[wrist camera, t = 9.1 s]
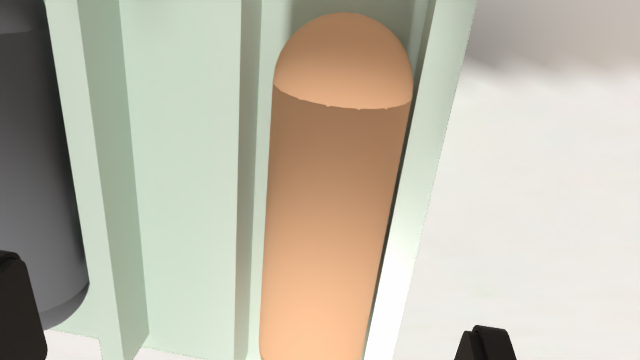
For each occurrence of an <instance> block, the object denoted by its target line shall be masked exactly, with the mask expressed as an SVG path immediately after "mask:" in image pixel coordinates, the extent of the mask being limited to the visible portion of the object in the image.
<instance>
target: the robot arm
mask: <svg viewBox="0 0 640 360" xmlns="http://www.w3.org/2000/svg"><path fill="white" fill-rule="evenodd" d="M47 351H48V349H47V344H46V340H45V336H44V332H43V328H42V324H41V320H40V317H39V313H38V309H37V305H36V301H35V297H34V293H33V289H32V285H31V281H30V277H29V274H28V270H27V266H26V264H25V262H24V261H22V260H21V258H20V256H19V255H18V254H17V253H15V252H10V251H4V250H0V360H45V359H46V356H47ZM454 360H517V359H516V356H515V353H514V350H513V347H512V344H511V341H510V338H509V335H508V333H507V331H506V330H505V329H499V328H493V327H487V326H480V325H475V326H474V328H473V330H472V332H471V331H464V333H463V335H462V338H461V341H460V344H459V347H458V350H457V353H456V356H455V359H454Z"/></svg>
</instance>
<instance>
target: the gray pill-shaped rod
mask: <svg viewBox="0 0 640 360" xmlns="http://www.w3.org/2000/svg"><path fill="white" fill-rule="evenodd" d="M0 250H4V251H10V252H15V253H17V254H18V255H19V256H20V258H21V260H22V261H24V262H25V264H26V266H27V270H28V274H29V277H30V281H31V285H32V289H33V293H34V297H35V301H36V305H37V309H38V313H39V317H40V320H41V324H42V328H43V331H44V330H47V329H50V328H52V327H55V326H57V325H59V324H61V323H62V322H64V321H65V320H67V319H68V318H69V317H70V316H71V315H72V314H73V313H74V312H75V311H76V310H77V309H78V308H79V307H80V306H81V304H82V302H83V301H84V299H85V297H86V295H87V293H88V289H89V285H90V281H89V275H88V268H87V262H86V256H85V250H84V243H83V237H82V231H81V225H80V218H79V212H78V206H77V200H76V193H75V187H74V181H73V175H72V168H71V162H70V156H69V150H68V143H67V137H66V131H65V125H64V118H63V112H62V106H61V100H60V93H59V87H58V81H57V75H56V68H55V62H54V56H53V50H52V43H51V37H50V31H49V25H48V18H47V12H46V6H45V4H44V2H43V0H0Z"/></svg>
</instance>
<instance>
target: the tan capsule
mask: <svg viewBox="0 0 640 360" xmlns="http://www.w3.org/2000/svg"><path fill="white" fill-rule="evenodd" d="M413 84H414V83H413V74H412V67H411V64H410V61H409V58H408V55H407V52H406V51H405V49H404V47H403V45H402V44H401V42H400V41H399V39H398V38H397V37H396V36H395V35H394V34H393V33H392V32H391V30H389V29H388V28H387V27H385V26H384V25H383V24H381V23H380V22H378V21H376V20H374V19H372V18H369V17H367V16H365V15H361V14H356V13H347V12H338V13H333V14H327V15H323V16H321V17H318V18H316V19H313V20H311V21H309V22H308V23H307V24H305V25H304V26H302V27H301V28H299V29H298V30H297V31H296V32H295V33H294V34H293V35H292V36H291V37H290V38H289V40H288V41H287V42H286V44H285V45H284V47H283V49H282V50H281V52H280V54H279V57H278V60H277V62H276V65H275V71H274V78H273V86H272V104H271V123H270V141H269V159H268V178H267V196H266V215H265V233H264V251H263V270H262V288H261V306H260V325H259V352H260V357H261V360H360V358H361V355H362V350H363V345H364V340H365V335H366V330H367V325H368V320H369V314H370V309H371V304H372V299H373V294H374V289H375V284H376V279H377V274H378V269H379V264H380V258H381V253H382V248H383V243H384V238H385V233H386V228H387V223H388V218H389V213H390V208H391V202H392V197H393V192H394V187H395V182H396V177H397V172H398V167H399V162H400V157H401V152H402V146H403V141H404V136H405V131H406V126H407V121H408V116H409V111H410V106H411V101H412V95H413Z"/></svg>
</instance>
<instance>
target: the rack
mask: <svg viewBox="0 0 640 360" xmlns="http://www.w3.org/2000/svg"><path fill="white" fill-rule="evenodd" d="M43 2H44V4H45V6H46V12H47V18H48V25H49V31H50V37H51V43H52V50H53V56H54V62H55V68H56V75H57V81H58V87H59V93H60V100H61V106H62V112H63V118H64V125H65V131H66V137H67V143H68V150H69V156H70V162H71V168H72V175H73V181H74V187H75V193H76V200H77V206H78V212H79V218H80V225H81V231H82V237H83V243H84V250H85V256H86V262H87V268H88V275H89V281H90V285H89V289H88V293H87V295H86V297H85V299H84V301H83V302H82V304H81V306H80V307H79V308H78V309H77V310H76V311H75V312H74V313H73V314H72V315H71V316H70V317H69V318H68V319H67V320H65V321H64V322H62V323H61V324H59V325H57V326H55V327H52V328H50V330H55V331H60V332H65V333H71V334H76V335H81V336H86V337H91V338H96V339H99V343H100V350H101V356H102V360H133V358H134V357H135V355H136V354H137V352H138V351H139V349H140V348H141V347H143V348H148V349H153V350H158V351H163V352H168V353H173V354H179V355H184V356H189V357H194V358H199V359H204V360H261V357H260V352H259V325H260V306H261V288H262V270H263V251H264V233H265V215H266V196H267V178H268V159H269V141H270V123H271V104H272V86H273V78H274V71H275V65H276V62H277V60H278V57H279V54H280V52H281V50H282V49H283V47H284V45H285V44H286V42H287V41H288V40H289V38H290V37H291V36H292V35H293V34H294V33H295V32H296V31H297V30H298V29H299V28H301V27H302V26H304V25H305V24H307V23H308V22H309V21H311V20H313V19H316V18H318V17H321V16H323V15H327V14H333V13H338V12H347V13H356V14H361V15H365V16H367V17H369V18H372V19H374V20H376V21H378V22H380V23H381V24H383V25H384V26H385V27H387V28H388V29H389V30H391V32H392V33H393V34H394V35H395V36H396V37H397V38H398V39H399V41H400V42H401V44H402V45H403V47H404V49H405V51H406V52H407V55H408V58H409V61H410V64H411V67H412V74H413V83H414V84H413V95H412V101H411V106H410V111H409V116H408V121H407V126H406V131H405V136H404V141H403V146H402V152H401V157H400V162H399V167H398V172H397V177H396V182H395V187H394V192H393V197H392V202H391V208H390V213H389V218H388V223H387V228H386V233H385V238H384V243H383V248H382V253H381V258H380V264H379V269H378V274H377V279H376V284H375V289H374V294H373V299H372V304H371V309H370V314H369V320H368V325H367V330H366V335H365V340H364V345H363V350H362V355H361V358H360V360H392V356H393V351H394V347H395V343H396V339H397V335H398V331H399V326H400V322H401V318H402V314H403V310H404V305H405V301H406V297H407V293H408V289H409V284H410V280H411V276H412V272H413V268H414V264H415V259H416V255H417V251H418V247H419V243H420V238H421V234H422V230H423V226H424V222H425V218H426V213H427V209H428V205H429V201H430V197H431V192H432V188H433V184H434V180H435V176H436V171H437V167H438V163H439V159H440V155H441V151H442V146H443V142H444V138H445V134H446V130H447V125H448V121H449V117H450V113H451V109H452V105H453V100H454V96H455V92H456V88H457V84H458V79H459V75H460V71H461V67H462V63H463V58H464V54H465V50H466V46H467V42H468V38H469V33H470V29H471V25H472V21H473V17H474V12H475V8H476V4H477V0H43Z"/></svg>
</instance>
